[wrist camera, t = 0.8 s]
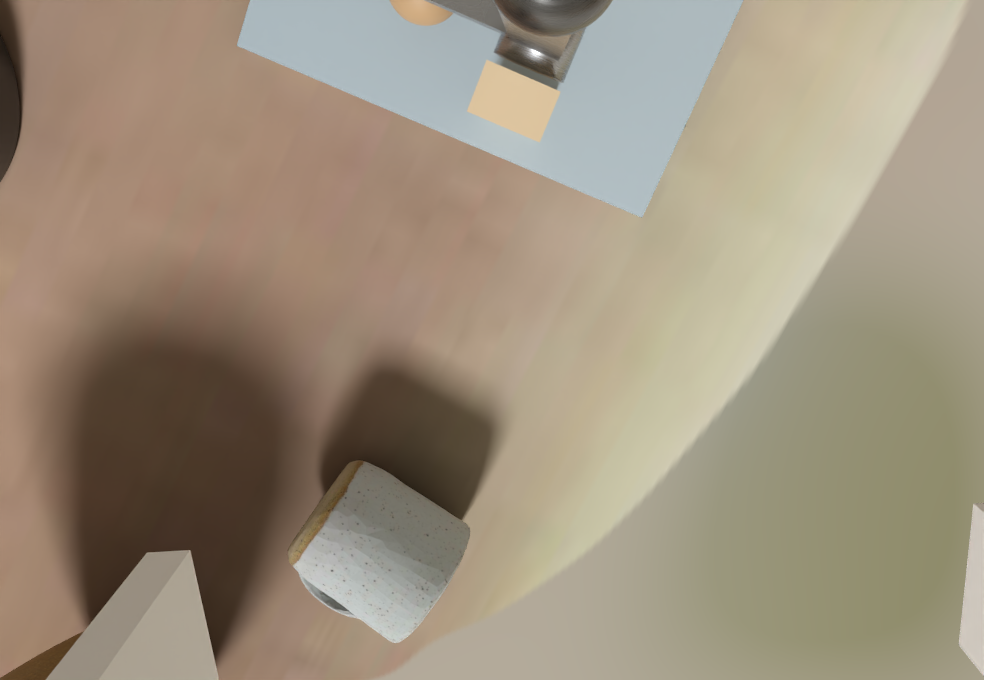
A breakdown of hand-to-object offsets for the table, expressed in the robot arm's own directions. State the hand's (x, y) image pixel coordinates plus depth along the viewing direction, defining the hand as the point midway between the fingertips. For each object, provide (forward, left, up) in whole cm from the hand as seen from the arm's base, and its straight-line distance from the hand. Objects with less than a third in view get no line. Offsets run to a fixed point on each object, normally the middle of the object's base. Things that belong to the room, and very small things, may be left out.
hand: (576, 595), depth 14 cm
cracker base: (-8, +10, -32) cm, 34 cm away
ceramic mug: (-3, -20, -32) cm, 37 cm away
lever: (-8, +10, -23) cm, 26 cm away
